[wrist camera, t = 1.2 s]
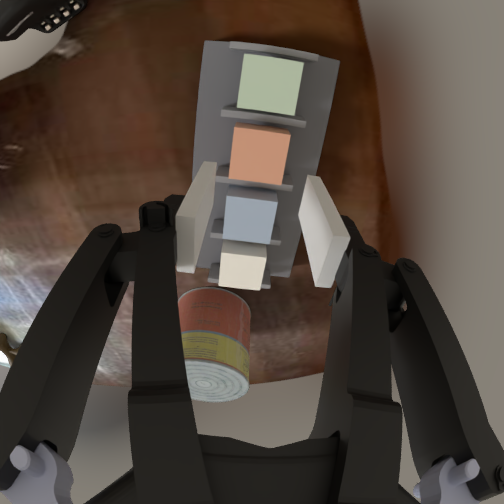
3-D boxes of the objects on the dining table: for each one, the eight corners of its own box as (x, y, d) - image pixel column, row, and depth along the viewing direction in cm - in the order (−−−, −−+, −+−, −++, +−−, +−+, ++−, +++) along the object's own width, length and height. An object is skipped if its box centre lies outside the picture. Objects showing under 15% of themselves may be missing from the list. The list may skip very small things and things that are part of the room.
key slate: (225, 225, 29) (222, 238, 27) (229, 184, 26) (226, 195, 24) (268, 230, 29) (269, 244, 27) (276, 190, 26) (277, 202, 24)
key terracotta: (230, 168, 25) (228, 178, 23) (236, 121, 23) (234, 127, 20) (279, 174, 25) (281, 185, 23) (287, 128, 23) (290, 135, 21)
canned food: (170, 324, 44) (154, 389, 34) (185, 276, 38) (165, 350, 28) (236, 343, 46) (232, 407, 37) (263, 300, 40) (264, 374, 30)
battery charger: (47, 42, 18) (-24, 50, 9) (42, 19, 16) (-27, 22, 7) (94, 9, 17) (24, -1, 8) (88, -14, 15) (21, -30, 6)
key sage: (238, 104, 22) (236, 107, 20) (245, 55, 19) (244, 53, 17) (290, 111, 22) (294, 115, 20) (299, 63, 19) (303, 62, 17)
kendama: (47, 357, 57) (10, 351, 59) (27, 333, 52) (-8, 330, 53) (40, 374, 52) (3, 366, 54) (18, 351, 47) (-16, 344, 49)
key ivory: (220, 270, 32) (218, 286, 30) (223, 238, 30) (221, 252, 28) (259, 275, 32) (259, 290, 30) (266, 243, 30) (266, 257, 28)
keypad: (193, 256, 36) (186, 280, 32) (208, 42, 21) (199, 37, 17) (287, 267, 36) (290, 292, 33) (334, 61, 22) (348, 60, 18)
